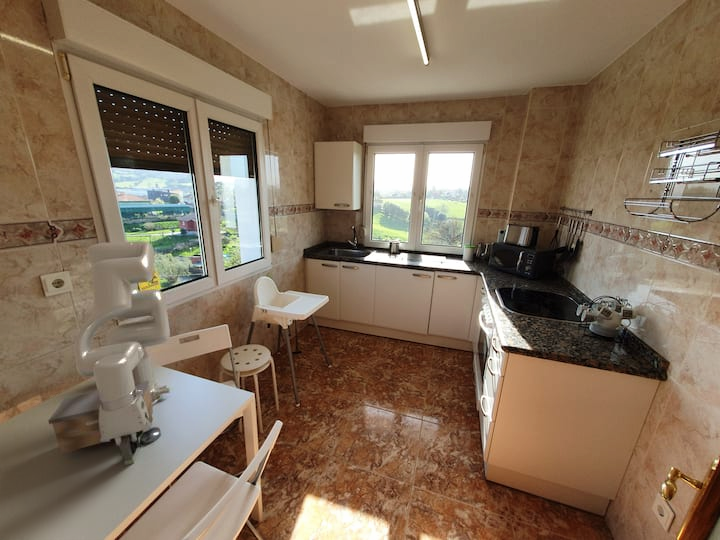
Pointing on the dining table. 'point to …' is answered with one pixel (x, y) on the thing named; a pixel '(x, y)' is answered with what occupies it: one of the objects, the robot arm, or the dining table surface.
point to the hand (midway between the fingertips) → (131, 450)
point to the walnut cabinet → (85, 419)
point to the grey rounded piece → (150, 435)
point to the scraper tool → (128, 449)
